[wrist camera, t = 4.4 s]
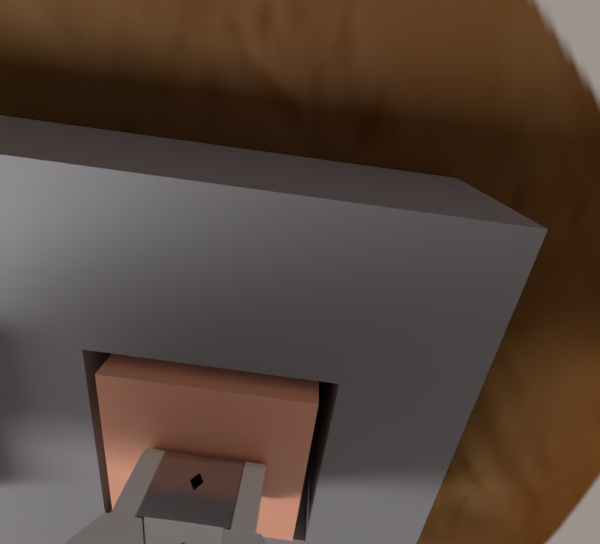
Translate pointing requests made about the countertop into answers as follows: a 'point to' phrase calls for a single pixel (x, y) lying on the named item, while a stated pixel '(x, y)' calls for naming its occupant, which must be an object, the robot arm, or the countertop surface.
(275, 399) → the terracotta key
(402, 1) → the countertop surface
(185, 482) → the robot arm
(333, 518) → the key panel
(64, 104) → the countertop surface
